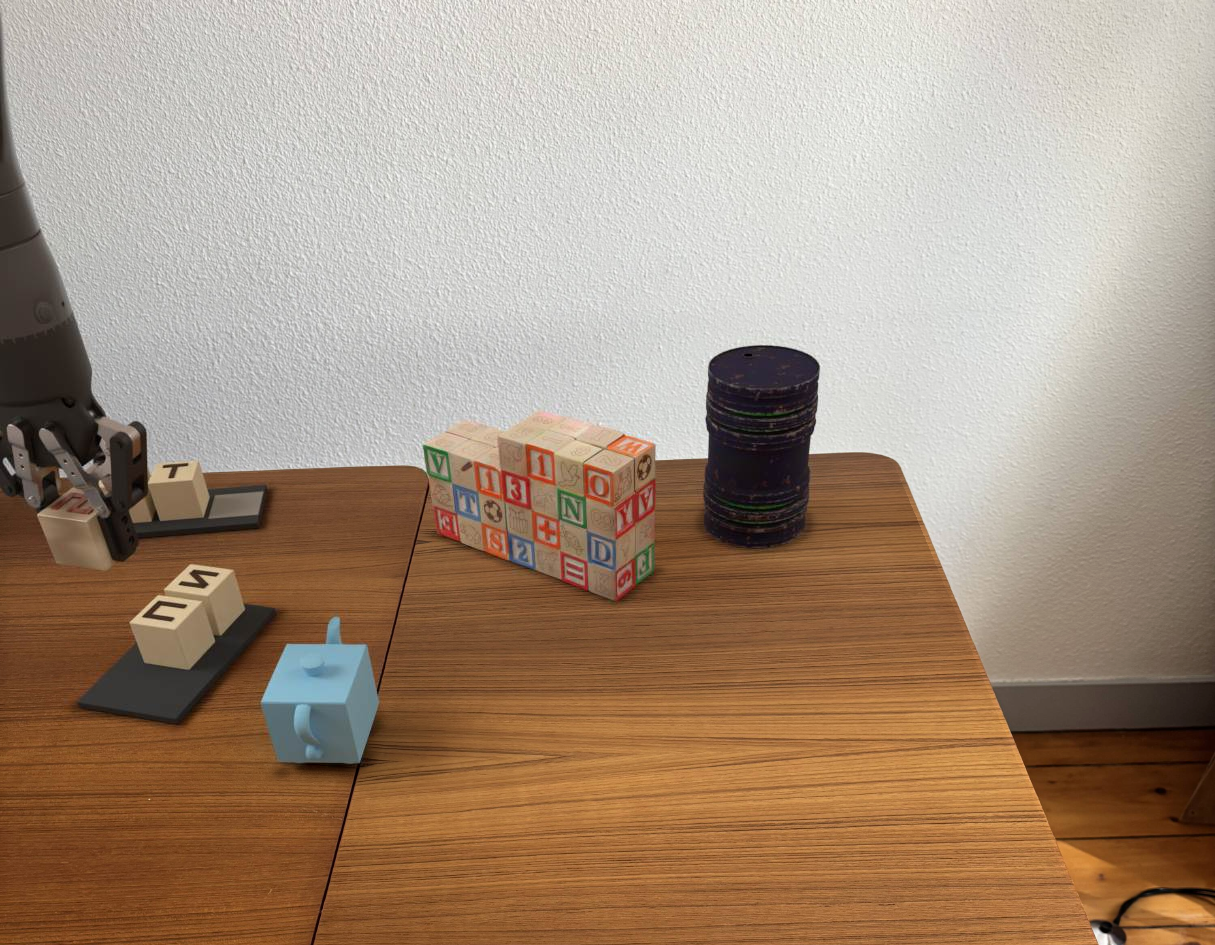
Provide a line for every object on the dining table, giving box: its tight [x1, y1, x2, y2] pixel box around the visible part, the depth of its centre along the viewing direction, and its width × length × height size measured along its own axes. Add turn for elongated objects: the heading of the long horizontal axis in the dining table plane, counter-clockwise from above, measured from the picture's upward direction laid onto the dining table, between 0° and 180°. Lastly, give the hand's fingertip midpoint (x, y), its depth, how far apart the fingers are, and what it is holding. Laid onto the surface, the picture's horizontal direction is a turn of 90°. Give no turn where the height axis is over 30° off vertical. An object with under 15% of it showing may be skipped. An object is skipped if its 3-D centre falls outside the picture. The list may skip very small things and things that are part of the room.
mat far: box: [99, 460, 268, 539], centre depth 111 cm, size 15×8×5 cm, turn 96°
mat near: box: [76, 563, 277, 725], centre depth 93 cm, size 9×16×5 cm, turn 164°
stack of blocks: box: [422, 409, 657, 602], centre depth 101 cm, size 21×6×12 cm, turn 54°
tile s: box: [36, 487, 118, 572], centre depth 82 cm, size 4×4×4 cm
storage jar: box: [702, 344, 821, 549], centre depth 103 cm, size 10×10×15 cm
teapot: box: [260, 616, 380, 765], centre depth 84 cm, size 12×6×8 cm, turn 177°
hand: (97, 550), depth 84 cm, fingers closed on tile s, 4 cm apart
